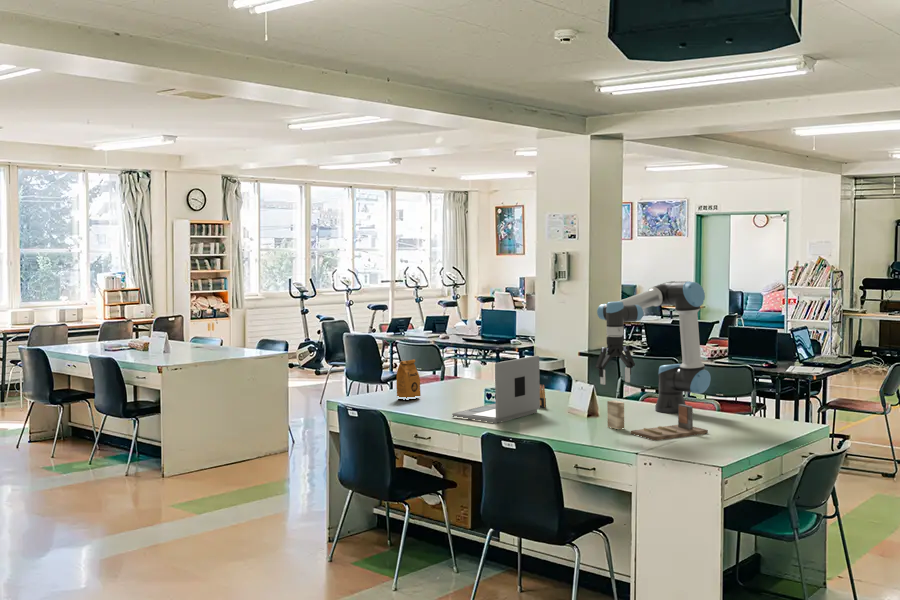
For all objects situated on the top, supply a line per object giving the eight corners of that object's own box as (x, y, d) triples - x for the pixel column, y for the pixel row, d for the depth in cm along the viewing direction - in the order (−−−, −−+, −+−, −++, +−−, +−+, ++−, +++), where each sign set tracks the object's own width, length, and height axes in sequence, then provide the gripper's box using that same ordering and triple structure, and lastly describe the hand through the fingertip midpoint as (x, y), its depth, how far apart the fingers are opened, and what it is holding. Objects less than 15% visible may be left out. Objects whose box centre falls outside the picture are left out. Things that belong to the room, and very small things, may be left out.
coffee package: (423, 399, 494) (422, 359, 493) (406, 402, 485) (405, 361, 484) (411, 397, 501) (410, 358, 500) (394, 400, 492) (393, 360, 491)
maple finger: (615, 426, 408) (615, 400, 407) (625, 429, 401) (624, 402, 401) (607, 427, 406) (607, 401, 405) (617, 430, 399) (616, 403, 399)
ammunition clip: (546, 407, 460) (545, 384, 460) (543, 408, 459) (543, 384, 458) (530, 405, 468) (530, 382, 467) (528, 405, 467) (527, 383, 466)
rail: (682, 427, 403) (682, 401, 402) (707, 433, 388) (707, 407, 388) (630, 434, 390) (630, 407, 389) (654, 440, 375) (654, 413, 375)
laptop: (494, 408, 464) (494, 352, 462) (540, 413, 446) (540, 355, 444) (451, 418, 436) (450, 359, 434) (498, 424, 418) (497, 363, 417)
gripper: (597, 338, 393) (597, 386, 394) (642, 335, 403) (642, 382, 405) (587, 336, 399) (587, 384, 400) (632, 334, 410) (632, 380, 411)
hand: (615, 383), depth 402 cm, fingers open, 13 cm apart
